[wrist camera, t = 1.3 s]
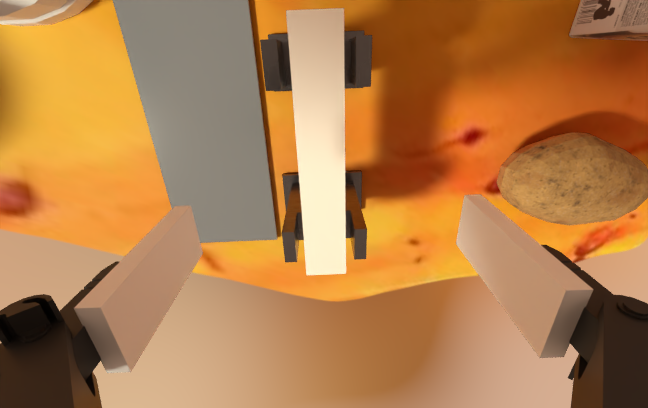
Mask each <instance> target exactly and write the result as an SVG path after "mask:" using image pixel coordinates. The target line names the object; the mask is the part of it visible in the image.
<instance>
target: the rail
mask: <svg viewBox="0 0 648 408" xmlns="http://www.w3.org/2000/svg"><path fill="white" fill-rule="evenodd" d="M286 16H287V29H288V42H289V55H290V68H291V81H292V93H293V106H294V119H295V132H296V145H297V158H298V171H299V184H300V197H301V210H302V223H303V236H304V248H305V261H306V274H307V275H325V274H346V215H345V80H344V8H334V9H309V10H286Z"/></svg>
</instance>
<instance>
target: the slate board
mask: <svg viewBox="0 0 648 408" xmlns="http://www.w3.org/2000/svg"><path fill="white" fill-rule="evenodd" d="M113 3H114V6H115V10H116V13H117V17H118V20H119V24H120V27H121V31H122V34H123V38H124V42H125V45H126V49H127V52H128V56H129V59H130V63H131V66H132V70H133V73H134V77H135V80H136V84H137V87H138V91H139V94H140V98H141V101H142V105H143V109H144V112H145V116H146V119H147V123H148V126H149V130H150V133H151V137H152V140H153V144H154V147H155V151H156V154H157V158H158V161H159V165H160V168H161V172H162V176H163V179H164V183H165V186H166V190H167V193H168V197H169V200H170V204H171V207H172V209H173V208H174V207H175V206H191V208H192V212H193V216H194V220H195V224H196V228H197V232H198V236H199V240H200V243H205V242H229V241H253V240H277V238H278V236H277V228H276V220H275V212H274V203H273V195H272V187H271V178H270V170H269V162H268V154H267V145H266V137H265V129H264V121H263V112H262V104H261V96H260V87H259V79H258V71H257V63H256V54H255V46H254V38H253V30H252V21H251V13H250V5H249V0H113Z"/></svg>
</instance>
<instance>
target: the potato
mask: <svg viewBox="0 0 648 408" xmlns="http://www.w3.org/2000/svg"><path fill="white" fill-rule="evenodd" d="M497 184H498V187H499V189H500V192H501V194H502V196H503V198H504V199H506V200H507V201H508V202H509V203H510V204H511V205H513V206H514V207H516V208H517V209H519V210H520V211H522V212H524V213H526V214H529V215H531V216H533V217H535V218H538V219H541V220H544V221H547V222H551V223H557V224H564V225H578V224H586V223H594V222H602V221H611V220H616V219H618V218H619V217H621V216H623V215H625V214H627V213H629V212H631V211H633V210H635V209H636V208H637V207H638V206H640V205H641V204H642V203H643V202H644V201H645V200H646V199H647V198H648V169H647V167H646V165H645V164H644V163H643V162H641V161H640V160H639V159H638V158H637V157H635V156H633V155H632V154H630V153H629V152H627V151H626V150H624V149H622V148H620V147H617V146H615V145H613V144H611V143H608V142H606V141H604V140H602V139H600V138H598V137H596V136H593V135H591V134H589V133H574V132H571V133H566V134H561V135H556V136H552V137H549V138H547V139H544V140H541V141H539V142H536V143H533V144H530V145H527V146H525V147H523V148H521V149H519V150H518V151H516V152H514V153H512V155H511V156H510V157H509V158H508V159H507V160H506V161H505V162H504V163H503V164H502V165H501V167H500V171H499V175H498V179H497Z"/></svg>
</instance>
